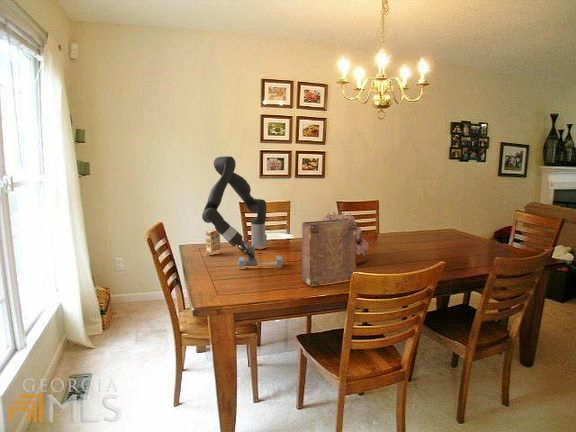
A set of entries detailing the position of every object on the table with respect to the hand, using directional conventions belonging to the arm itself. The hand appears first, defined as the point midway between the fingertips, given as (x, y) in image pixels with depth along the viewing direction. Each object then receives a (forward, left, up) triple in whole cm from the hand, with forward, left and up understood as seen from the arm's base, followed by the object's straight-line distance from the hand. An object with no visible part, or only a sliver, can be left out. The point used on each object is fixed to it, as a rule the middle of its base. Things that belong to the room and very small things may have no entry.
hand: (253, 255), depth 205 cm
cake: (-50, +15, -7) cm, 53 cm away
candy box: (+7, -38, -7) cm, 39 cm away
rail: (-3, +2, -7) cm, 8 cm away
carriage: (+1, -1, -5) cm, 5 cm away
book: (-18, +42, -7) cm, 46 cm away
